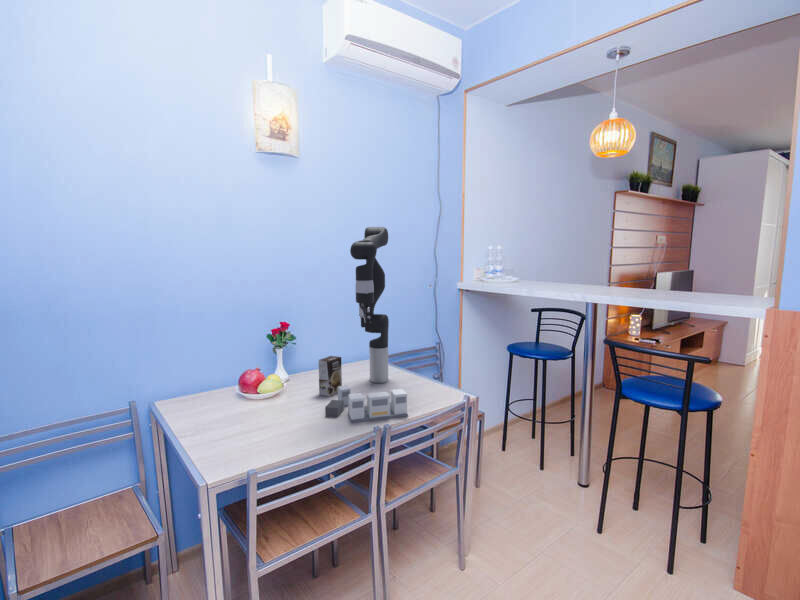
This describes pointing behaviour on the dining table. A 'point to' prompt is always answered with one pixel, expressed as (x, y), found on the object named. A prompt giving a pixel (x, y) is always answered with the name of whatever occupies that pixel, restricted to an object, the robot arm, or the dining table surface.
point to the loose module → (378, 404)
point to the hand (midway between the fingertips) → (365, 329)
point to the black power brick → (334, 408)
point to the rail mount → (359, 414)
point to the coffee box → (330, 375)
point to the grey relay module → (344, 394)
